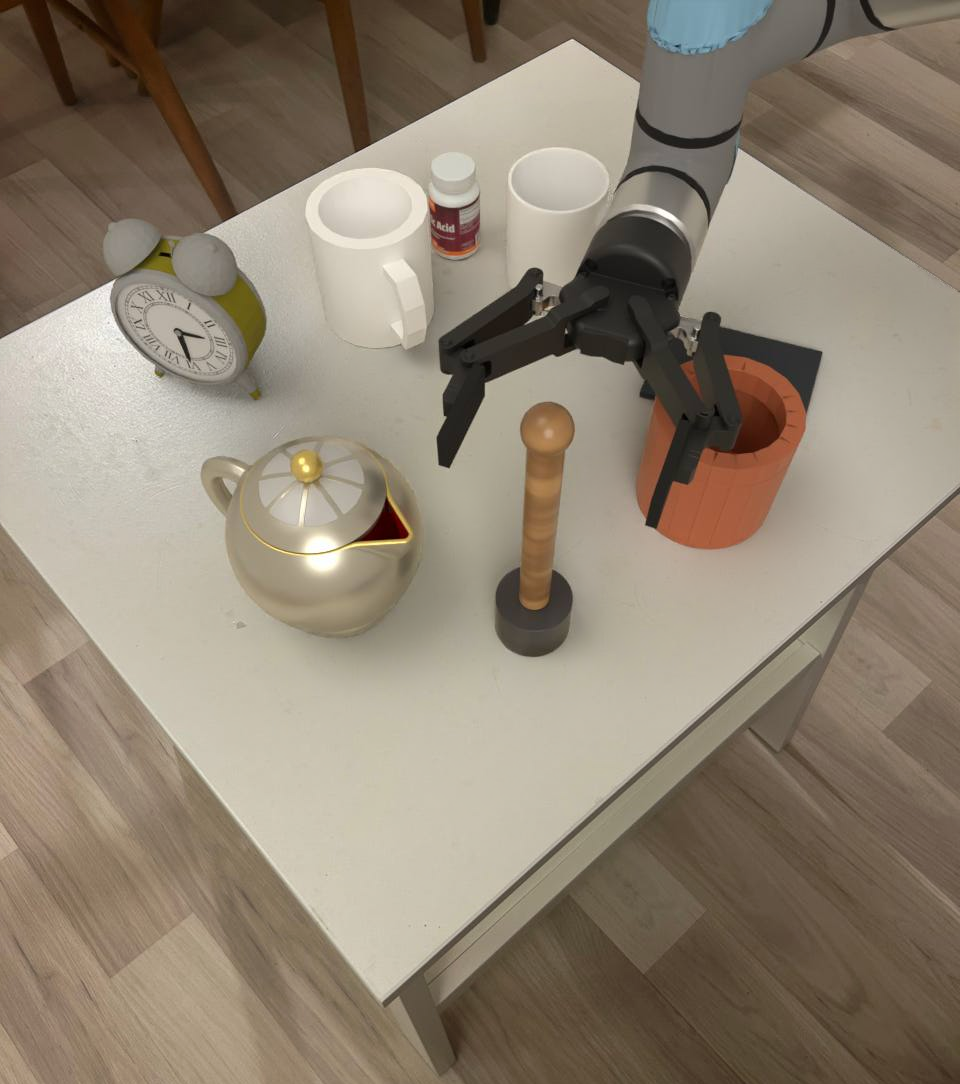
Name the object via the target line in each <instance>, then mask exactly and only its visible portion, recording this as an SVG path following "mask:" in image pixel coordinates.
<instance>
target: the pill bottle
mask: <svg viewBox="0 0 960 1084" xmlns="http://www.w3.org/2000/svg"><path fill="white" fill-rule="evenodd" d="M476 178H477V174H476V163H475V161H474V159H473V158H472V157H471V156H470V155H468V154H466V153H463V152H462V151H461V152H460V151H448V152H444V153H443V152H442V153H441V154H438V155H437V156H436V157H434V158H433V160H432V161H431V163H430V181H429V184H428V188H427V191H428V192H427V194H428V215H429V231H430V244H431V247H432V249H433V251H434V252H435V253H436V254H437V255H438V256H440V257H442V258H444V259H446V260H453V261H454V260H455V261H456V260H463V259H466V258H469V257H471V256H473V255H474V254H476V252H477V251H478V249H479V247H480V245H481V187H480V184H479V181H478V180H477V179H476Z"/></svg>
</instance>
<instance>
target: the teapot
mask: <svg viewBox="0 0 960 1084" xmlns="http://www.w3.org/2000/svg"><path fill="white" fill-rule="evenodd" d="M223 478H224V479H227V480H230V481H232V482H235V484H236V488H235V489H234V491H233V493H231V492H230V490H229V488H228V487H227V485H226V483H225V482H224V480H223ZM200 481H201V484H202V487H203V489H204V491H205V493H206V495H207V496H208V498H209V499H210V501H211V503H212V504H213V505H214V506H215V507H216V509H217V510H218V511H219V512H220V513H221V515H223V517H224V518H225V526H224V531H225V532H224V537H225V548H226V553H227V557H228V560H229V565H230V567H231V570H232V572H233V574H234V576H235V578H236V580H237V582H238V584H239V585H240V587H241V588H242V590H243V591H244V593H245V594H246V595H247V596H248V597H249V598H250V600H251V601H252V602H253V603H254V604H255V605H256V606H257V607H258V608H259V609H261V610H262V611H263V612H265V613H266V614H267V615H268V616H270V617H272V618H273V619H275V620H277V621H278V622H281V623H282V624H285V625H287V626H289V627H292V628H295V629H298V630H302V631H306V632H308V633H311V634H313V635H315V636H319V637H322V638H328V639H329V638H330V639H344V638H351V637H354V636H358V635H360V634H363V633H365V632H367V631H369V630H371V629H372V628H374V627H375V626H376V625H378V624H379V623H380V622H381V621H382V620H384V618H385V617H386V616H387V614H388V613H389V612H390V610H391V609H392V608H393V607H394V606H395V605H396V604H397V603H398V602H399V601H400V599H402V597H403V596H404V595H405V593H406V592H407V590H408V589H409V587H410V586H411V584H412V582H413V580H414V578H415V576H416V573H417V571H418V569H419V565H420V562H421V559H422V554H423V548H424V525H423V519H422V514H421V510H420V507H419V506H420V505H419V503H418V501H417V498H416V495H415V494H414V491H413V490H412V488H411V486H410V484H409V482H408V481H407V480H406V478H405V477H404V475H403V474H402V473H401V472H400V470H399V469H398V468H397V467H396V466H395V465H394V464H393V463H392V462H391V461H389V460H388V459H387V458H386V457H385V456H384V455H382V454H381V453H379V452H378V451H377V450H375V449H373V448H371V447H369V446H367V445H365V444H363V443H361V442H358V441H355V440H352V439H349V438H345V437H339V436H331V435H313V436H306V437H301V438H296V439H293V440H290V441H287V442H285V443H282V444H280V445H278V446H276V447H274V448H272V449H271V450H269V451H267V452H266V453H265V454H263V455H262V456H261V457H259V459H257V460H256V461H255V462H254V463H253V464H249V463H247V462H245V461H242V460H239V459H238V458H234V457H230V456H227V455H226V456H225V455H218V456H214V457H209V458H207V459H206V460H205V461H203V463H202V465H201V468H200Z"/></svg>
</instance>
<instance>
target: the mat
mask: <svg viewBox="0 0 960 1084" xmlns="http://www.w3.org/2000/svg"><path fill="white" fill-rule="evenodd" d="M682 317H683V318H685V317H684V316H682ZM718 339H719V342H720V346H721V349H722V352H723V355H730V356H738V357H745V358H749V359H751V360H754V361H757V362H759V363H762V364H765V365H767V366H769V367H771V368H772V369H774V370H775V371H776V372H778V373H779V374H781V375H782V376H784V377H785V378H786V379H787V380H788V381H789V382H790V383H791V384H792V386H793V387H794V388H795V389H796V390H797V392H798V393H799V395H800V397H801V400H802V403H803V405H804V408H805V411H806V415H807V414H808V410H809V407H810V402H811V398H812V394H813V391H814V388H815V383H816V379H817V375H818V372H819V368H820V365H821V360H822V358H823V353H824V352H823V351H821V350H817V349H813V348H809V347H805V346H801V345H797V344H793V343H789V342H785V341H781V340H777V339H774V338H769V337H765V336H761V335H757V334H752V333H748V332H744V331H740V330H736V329H732V328H729V327H725V326H720V329H719V334H718ZM668 344H669V348H670V350H671V352H672V353H673V355H674V357H675V358H676V360H677V361H678V363H679V365H681V364H683V363H686V362H689V361H691V360H693V358H694V356H689V355H687V349H686V348H685V346H684V342H683V341H682V340H681V339H679V338H676V337H675V339H674V340H673V341H672V342H670V343H668ZM655 396H656V394H655V392H654V390H653V389H652V387H651V385H650V384H649V382H648V380H643V383H642V386H641V388H640V390H639V397H641V398H644V399H648V400H651V401H655Z"/></svg>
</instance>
